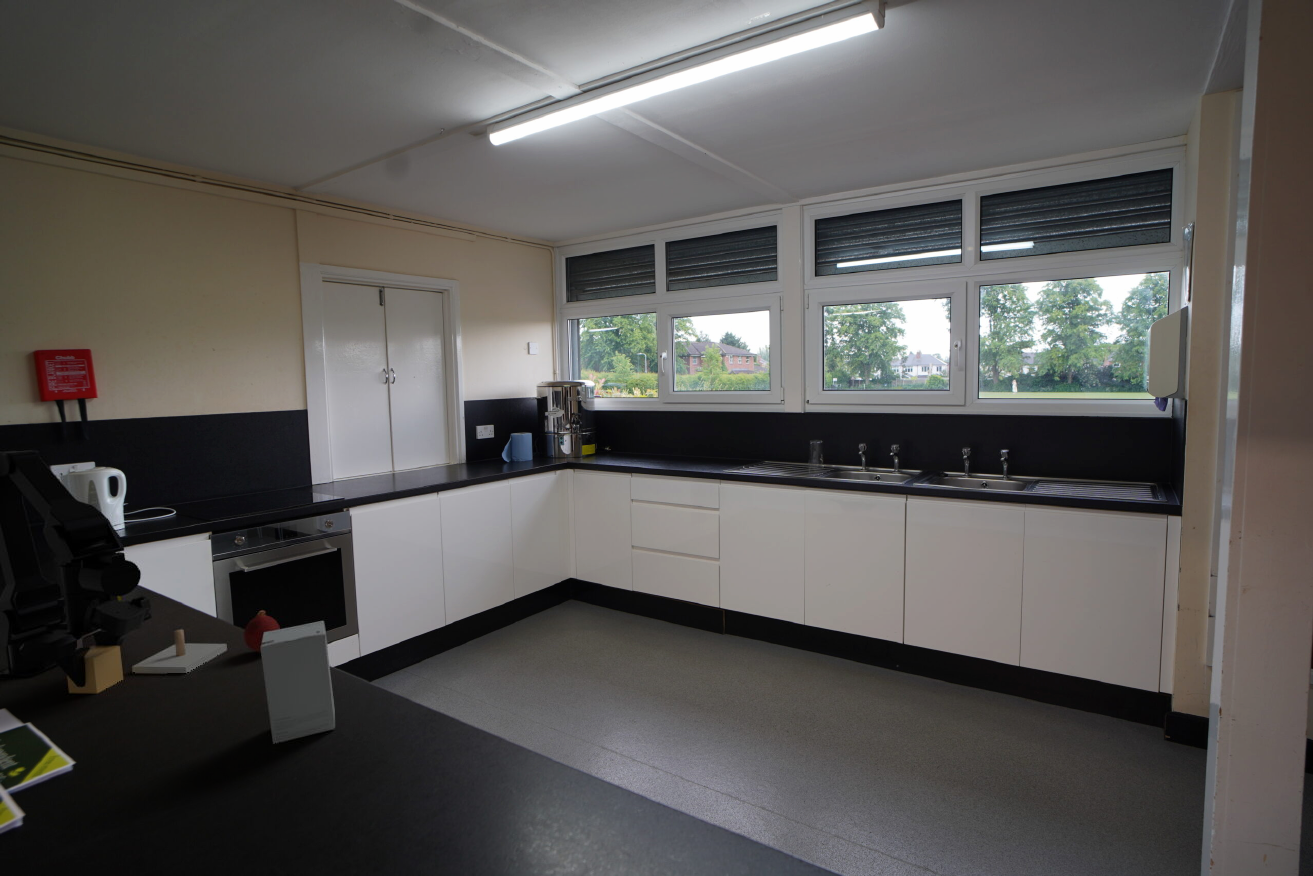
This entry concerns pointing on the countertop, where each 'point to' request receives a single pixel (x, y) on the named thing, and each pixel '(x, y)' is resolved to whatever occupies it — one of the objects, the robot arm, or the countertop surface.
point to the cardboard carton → (100, 669)
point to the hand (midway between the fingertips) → (95, 679)
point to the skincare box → (298, 681)
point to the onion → (259, 630)
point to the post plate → (179, 657)
